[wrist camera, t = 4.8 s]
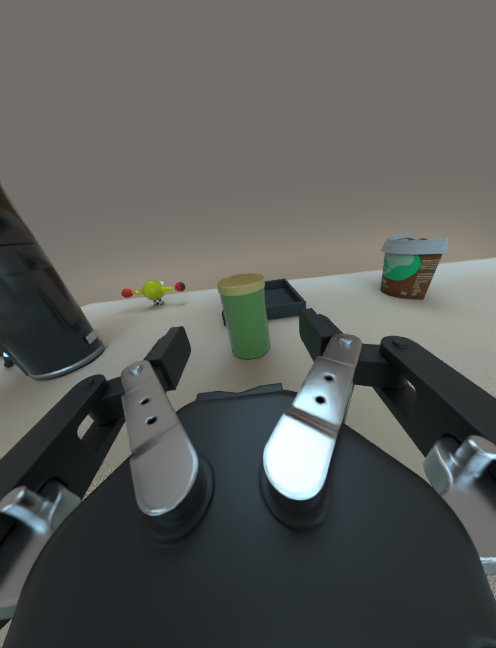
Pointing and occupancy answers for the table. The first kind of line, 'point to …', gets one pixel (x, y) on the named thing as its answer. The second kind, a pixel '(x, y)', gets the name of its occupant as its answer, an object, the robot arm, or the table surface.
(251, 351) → the green cup
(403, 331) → the table surface
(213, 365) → the table surface
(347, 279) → the table surface
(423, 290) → the food container
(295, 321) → the table surface
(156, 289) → the toy figure
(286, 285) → the dark grey shallow tray
